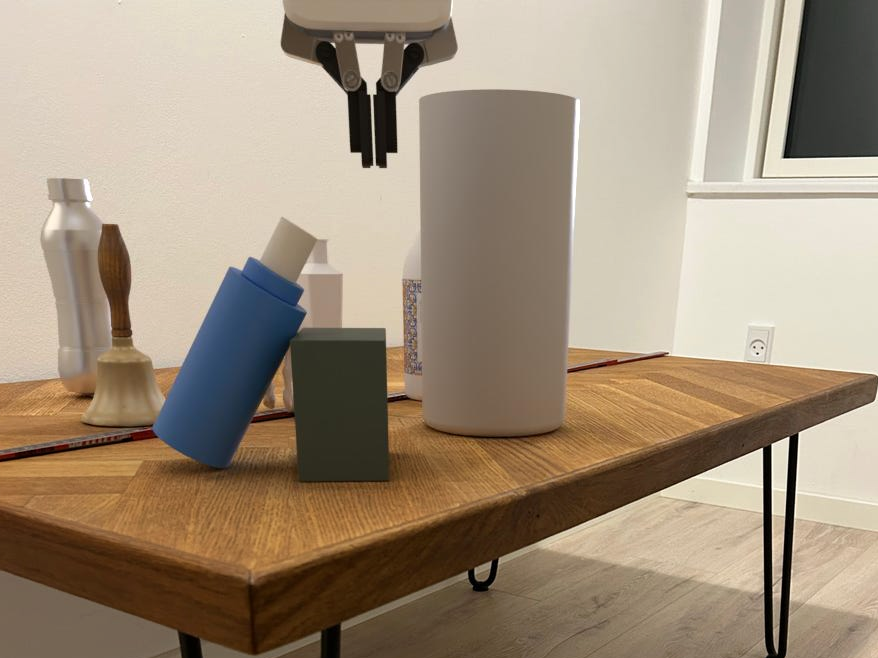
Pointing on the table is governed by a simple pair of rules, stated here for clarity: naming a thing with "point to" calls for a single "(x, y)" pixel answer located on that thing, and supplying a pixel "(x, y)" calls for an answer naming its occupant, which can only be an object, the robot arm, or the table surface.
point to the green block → (340, 404)
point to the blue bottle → (237, 351)
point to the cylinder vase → (496, 258)
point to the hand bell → (121, 349)
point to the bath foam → (412, 321)
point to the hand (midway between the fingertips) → (374, 165)
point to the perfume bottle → (321, 290)
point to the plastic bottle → (76, 283)
